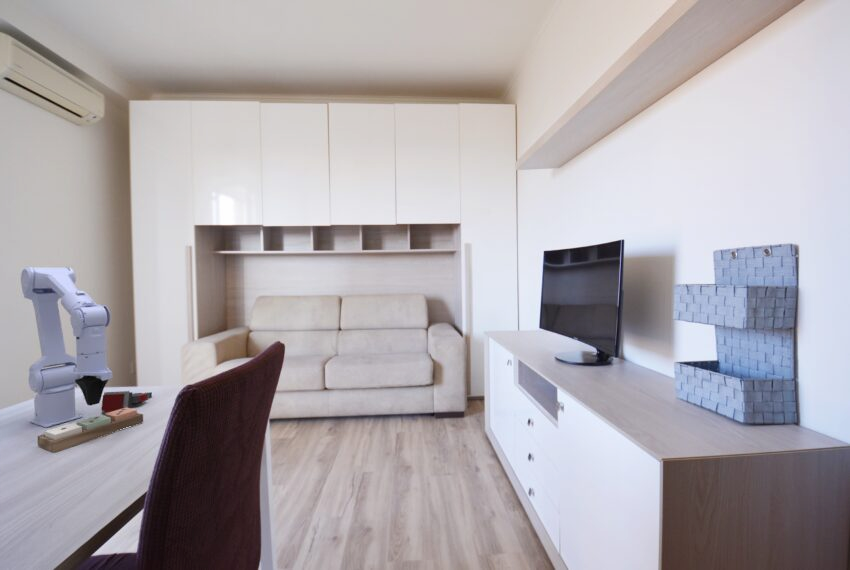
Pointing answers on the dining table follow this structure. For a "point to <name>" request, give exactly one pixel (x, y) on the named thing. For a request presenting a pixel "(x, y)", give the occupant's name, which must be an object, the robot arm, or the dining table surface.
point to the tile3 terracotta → (121, 414)
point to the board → (87, 434)
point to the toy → (121, 400)
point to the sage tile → (94, 422)
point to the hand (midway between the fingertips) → (93, 404)
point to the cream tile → (63, 431)
